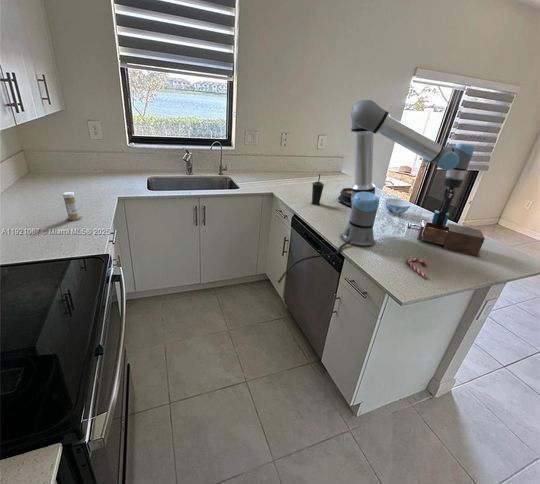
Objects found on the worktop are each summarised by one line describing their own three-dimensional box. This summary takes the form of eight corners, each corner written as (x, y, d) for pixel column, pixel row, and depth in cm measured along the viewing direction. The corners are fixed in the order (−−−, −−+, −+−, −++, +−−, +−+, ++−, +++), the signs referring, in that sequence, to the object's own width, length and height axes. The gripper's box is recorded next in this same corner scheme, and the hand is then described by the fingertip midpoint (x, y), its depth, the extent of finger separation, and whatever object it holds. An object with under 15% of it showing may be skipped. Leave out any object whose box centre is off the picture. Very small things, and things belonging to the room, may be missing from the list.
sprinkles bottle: (78, 216, 146) (72, 190, 141) (80, 219, 143) (74, 193, 138) (67, 218, 144) (61, 192, 138) (69, 221, 141) (62, 194, 135)
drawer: (405, 237, 151) (409, 223, 147) (405, 230, 159) (409, 217, 156) (446, 246, 144) (452, 232, 140) (445, 239, 152) (450, 225, 149)
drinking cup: (313, 201, 197) (317, 172, 188) (323, 204, 193) (328, 174, 184) (307, 203, 191) (311, 173, 183) (317, 206, 187) (322, 176, 179)
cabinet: (443, 248, 144) (449, 230, 140) (441, 239, 154) (447, 223, 149) (477, 256, 139) (485, 238, 134) (473, 246, 148) (480, 229, 144)
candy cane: (418, 275, 116) (405, 256, 130) (417, 277, 117) (404, 259, 131) (437, 277, 116) (422, 258, 130) (436, 279, 117) (421, 260, 130)
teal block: (445, 226, 143) (449, 215, 141) (431, 223, 146) (435, 212, 143) (444, 223, 147) (448, 212, 144) (431, 221, 149) (435, 210, 147)
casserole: (333, 196, 210) (335, 185, 207) (358, 197, 211) (361, 186, 208) (342, 208, 188) (344, 195, 184) (370, 210, 189) (373, 197, 185)
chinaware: (411, 219, 179) (414, 207, 176) (387, 217, 179) (390, 205, 175) (401, 210, 192) (404, 199, 189) (379, 208, 192) (382, 197, 189)
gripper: (465, 183, 128) (448, 231, 138) (461, 175, 142) (445, 219, 152) (446, 180, 130) (430, 227, 140) (444, 173, 145) (429, 216, 155)
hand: (438, 223), depth 146 cm, fingers closed on teal block, 4 cm apart
